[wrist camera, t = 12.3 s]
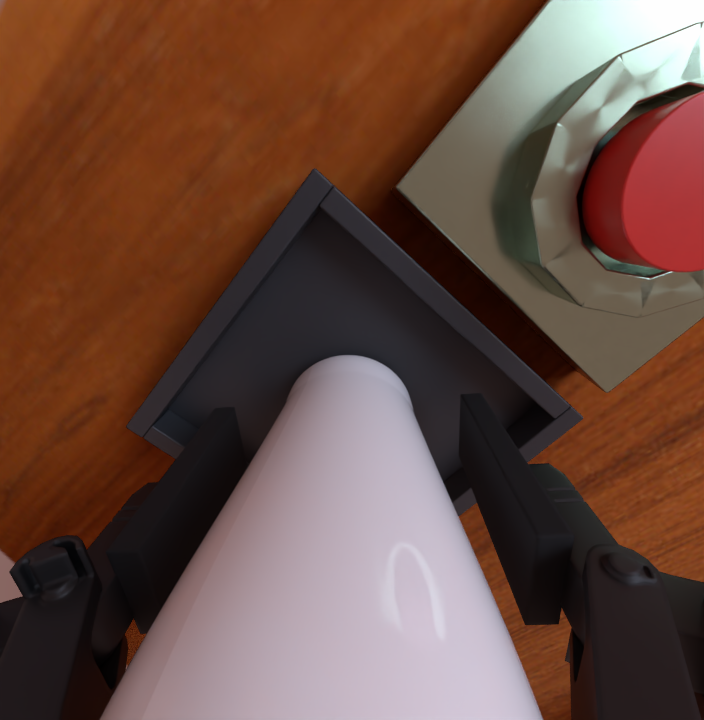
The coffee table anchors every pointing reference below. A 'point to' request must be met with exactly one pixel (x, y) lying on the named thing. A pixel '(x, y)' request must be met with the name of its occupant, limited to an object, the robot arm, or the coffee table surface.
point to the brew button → (651, 190)
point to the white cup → (332, 581)
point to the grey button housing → (564, 177)
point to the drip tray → (346, 340)
